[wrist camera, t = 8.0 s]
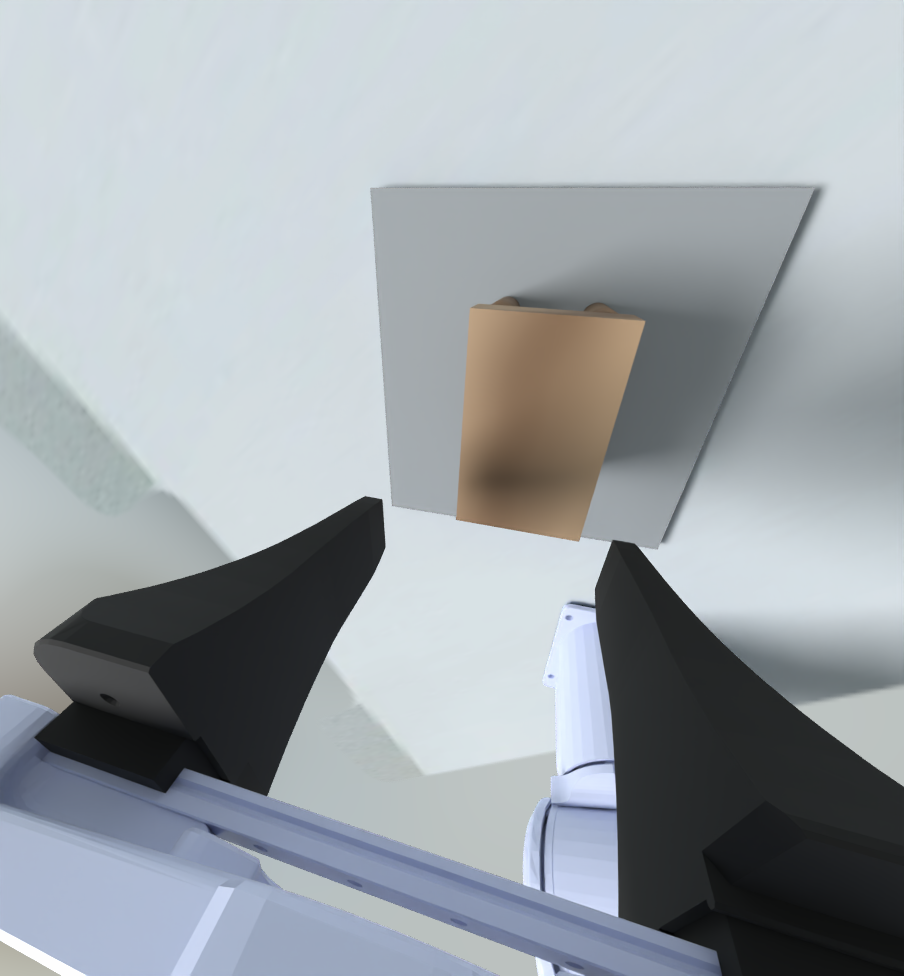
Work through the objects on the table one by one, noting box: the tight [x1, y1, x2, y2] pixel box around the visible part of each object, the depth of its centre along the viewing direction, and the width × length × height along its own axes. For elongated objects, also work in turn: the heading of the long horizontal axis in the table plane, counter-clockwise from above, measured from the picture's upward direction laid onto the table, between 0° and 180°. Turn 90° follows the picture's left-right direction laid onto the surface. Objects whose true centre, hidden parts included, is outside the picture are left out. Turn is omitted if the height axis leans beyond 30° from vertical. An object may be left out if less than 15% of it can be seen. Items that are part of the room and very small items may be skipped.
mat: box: [371, 187, 815, 549], centre depth 18 cm, size 16×16×1 cm
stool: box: [456, 296, 645, 541], centre depth 15 cm, size 5×8×6 cm, turn 178°
